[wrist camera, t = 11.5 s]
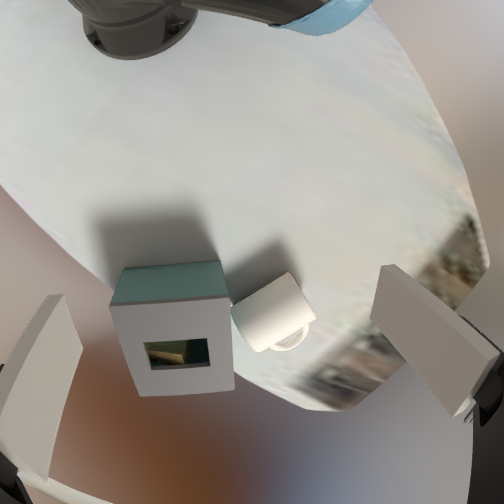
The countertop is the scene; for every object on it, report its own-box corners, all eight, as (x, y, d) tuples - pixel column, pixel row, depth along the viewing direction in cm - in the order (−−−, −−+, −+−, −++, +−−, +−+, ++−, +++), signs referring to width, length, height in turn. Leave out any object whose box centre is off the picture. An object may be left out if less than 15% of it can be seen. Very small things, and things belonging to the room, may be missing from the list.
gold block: (159, 324, 43) (145, 361, 37) (155, 311, 41) (139, 348, 35) (196, 328, 42) (185, 367, 37) (193, 315, 41) (181, 354, 35)
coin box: (124, 268, 39) (109, 306, 30) (220, 260, 42) (229, 297, 33) (145, 352, 45) (140, 396, 36) (225, 346, 48) (234, 389, 39)
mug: (226, 297, 44) (234, 329, 37) (282, 263, 44) (300, 289, 37) (264, 344, 49) (276, 376, 42) (313, 314, 49) (332, 342, 42)
